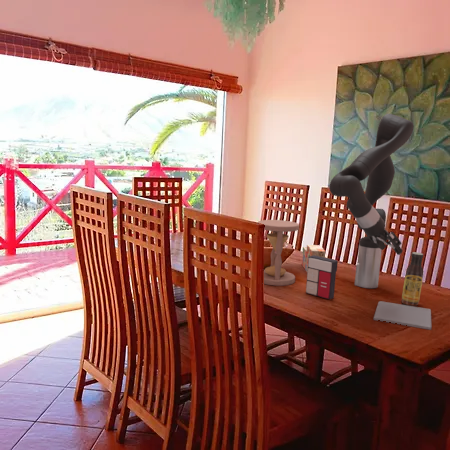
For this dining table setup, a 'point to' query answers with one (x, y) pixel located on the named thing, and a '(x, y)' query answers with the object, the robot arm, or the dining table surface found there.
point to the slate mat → (403, 315)
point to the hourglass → (278, 251)
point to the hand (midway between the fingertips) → (391, 250)
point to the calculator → (321, 276)
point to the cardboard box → (311, 253)
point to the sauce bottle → (413, 281)
